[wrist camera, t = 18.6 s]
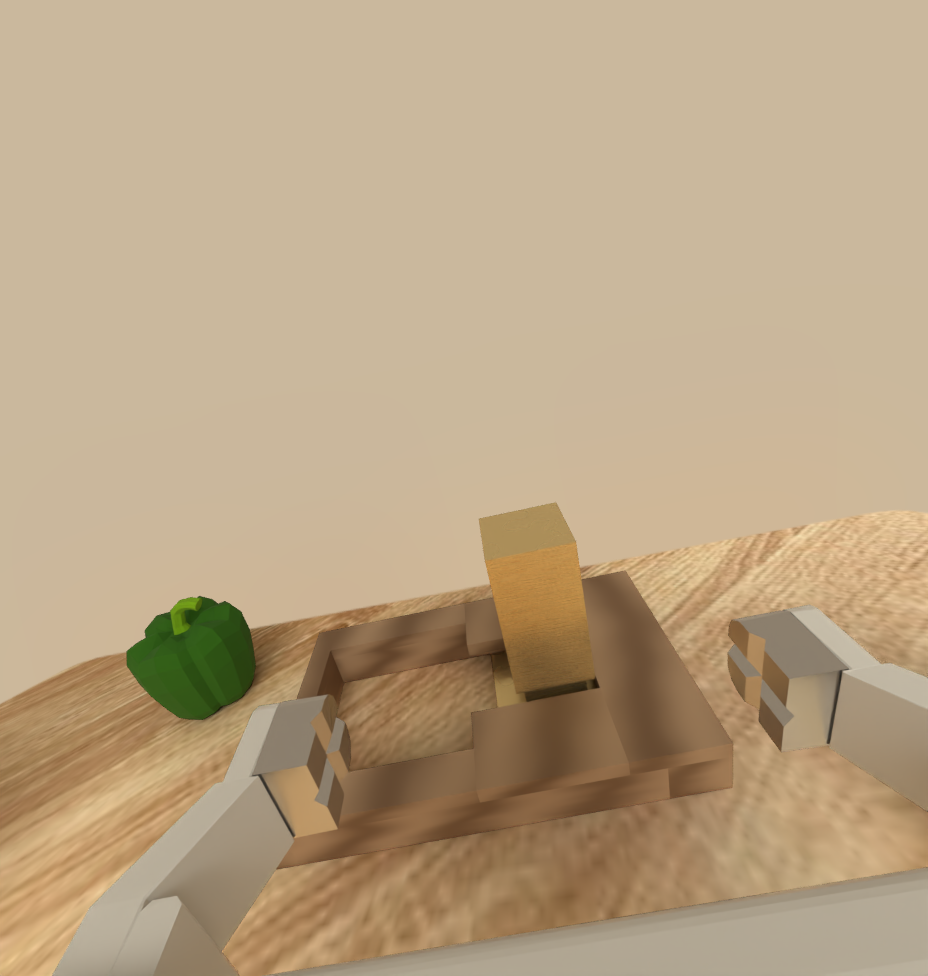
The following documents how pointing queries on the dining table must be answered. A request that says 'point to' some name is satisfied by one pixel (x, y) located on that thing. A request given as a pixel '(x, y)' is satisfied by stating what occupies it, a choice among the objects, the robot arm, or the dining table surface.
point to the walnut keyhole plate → (523, 730)
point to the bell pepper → (195, 657)
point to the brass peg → (537, 606)
